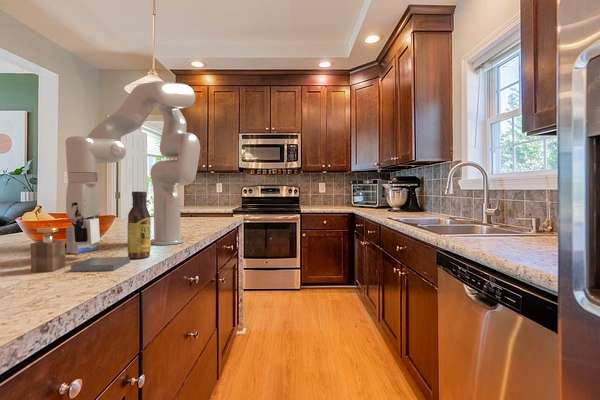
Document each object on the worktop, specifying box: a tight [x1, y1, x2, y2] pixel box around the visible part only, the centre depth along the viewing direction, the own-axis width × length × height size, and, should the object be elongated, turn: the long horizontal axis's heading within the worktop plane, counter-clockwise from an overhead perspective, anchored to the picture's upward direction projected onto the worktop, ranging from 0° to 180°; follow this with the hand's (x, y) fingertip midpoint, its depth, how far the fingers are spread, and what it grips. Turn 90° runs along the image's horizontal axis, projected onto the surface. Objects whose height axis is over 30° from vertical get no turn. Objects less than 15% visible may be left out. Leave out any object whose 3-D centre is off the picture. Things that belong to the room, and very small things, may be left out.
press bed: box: [70, 256, 131, 272], centre depth 87 cm, size 10×10×2 cm
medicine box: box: [65, 226, 98, 255], centre depth 108 cm, size 8×4×9 cm, turn 168°
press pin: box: [36, 226, 60, 243], centre depth 83 cm, size 4×4×6 cm
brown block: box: [30, 239, 66, 273], centre depth 84 cm, size 5×5×7 cm
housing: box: [71, 217, 101, 245], centre depth 98 cm, size 5×5×7 cm
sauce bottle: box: [127, 190, 152, 260], centre depth 99 cm, size 7×6×20 cm
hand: (86, 239), depth 98 cm, fingers closed on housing, 5 cm apart
